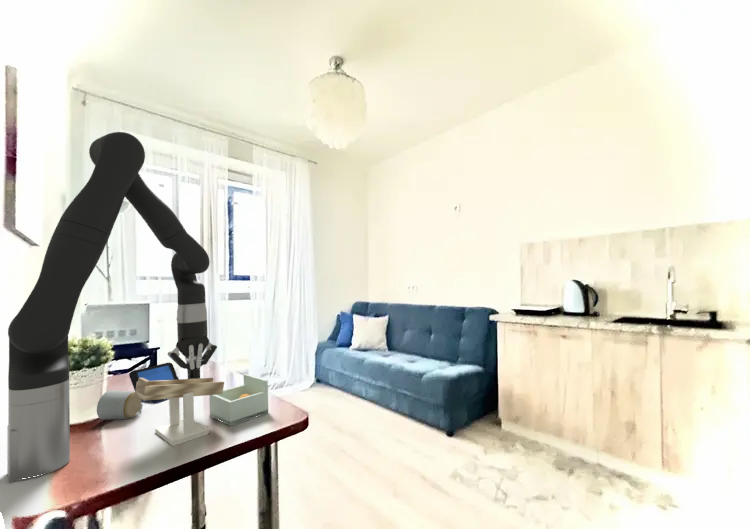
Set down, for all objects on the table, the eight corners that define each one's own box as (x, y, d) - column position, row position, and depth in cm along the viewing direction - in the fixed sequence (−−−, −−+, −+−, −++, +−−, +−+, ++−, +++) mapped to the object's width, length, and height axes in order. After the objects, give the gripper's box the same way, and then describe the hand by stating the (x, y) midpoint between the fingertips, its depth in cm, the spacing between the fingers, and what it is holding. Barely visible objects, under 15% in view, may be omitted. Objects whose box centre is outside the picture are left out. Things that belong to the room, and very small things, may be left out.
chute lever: (143, 400, 79) (147, 382, 80) (124, 388, 90) (127, 371, 90) (222, 393, 92) (224, 378, 93) (197, 383, 103) (199, 369, 104)
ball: (248, 413, 99) (239, 405, 97) (241, 410, 102) (232, 402, 100) (258, 400, 101) (248, 392, 99) (250, 397, 104) (241, 390, 102)
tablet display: (155, 404, 111) (154, 374, 111) (127, 400, 116) (127, 372, 117) (197, 389, 125) (197, 363, 126) (171, 386, 131) (171, 361, 131)
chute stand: (172, 446, 81) (172, 399, 81) (155, 432, 89) (154, 390, 89) (208, 433, 87) (207, 390, 87) (189, 422, 95) (188, 382, 95)
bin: (230, 426, 91) (229, 390, 91) (209, 415, 99) (209, 382, 99) (268, 412, 99) (267, 380, 99) (246, 404, 107) (246, 374, 107)
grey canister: (125, 422, 96) (125, 394, 97) (95, 424, 96) (95, 395, 97) (150, 409, 107) (150, 383, 107) (123, 410, 107) (123, 384, 107)
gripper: (171, 323, 93) (173, 390, 92) (221, 317, 102) (223, 378, 102) (161, 322, 98) (163, 385, 97) (210, 316, 107) (212, 374, 107)
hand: (194, 381), depth 99 cm, fingers closed
